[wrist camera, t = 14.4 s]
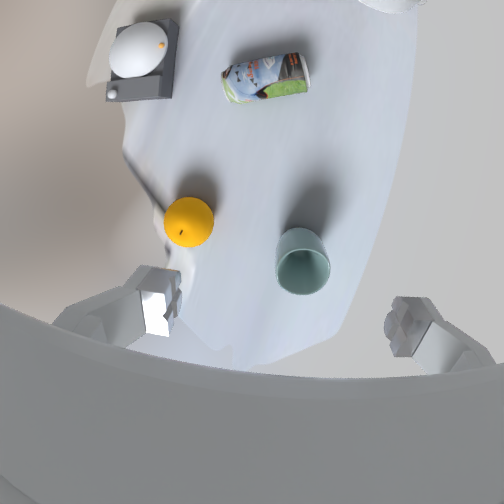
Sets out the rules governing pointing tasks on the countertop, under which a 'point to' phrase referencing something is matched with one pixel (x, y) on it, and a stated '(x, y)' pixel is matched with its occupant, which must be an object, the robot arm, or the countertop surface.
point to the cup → (301, 262)
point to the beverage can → (266, 78)
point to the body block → (143, 61)
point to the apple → (188, 222)
